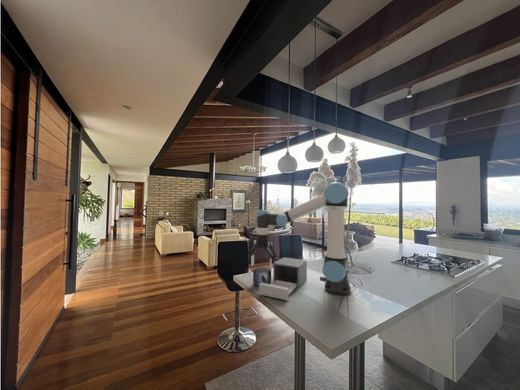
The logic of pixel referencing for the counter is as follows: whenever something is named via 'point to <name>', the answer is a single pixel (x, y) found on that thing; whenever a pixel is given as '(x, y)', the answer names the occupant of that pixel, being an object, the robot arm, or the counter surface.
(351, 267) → the counter surface
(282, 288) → the grey drawer
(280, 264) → the housing
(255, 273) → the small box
